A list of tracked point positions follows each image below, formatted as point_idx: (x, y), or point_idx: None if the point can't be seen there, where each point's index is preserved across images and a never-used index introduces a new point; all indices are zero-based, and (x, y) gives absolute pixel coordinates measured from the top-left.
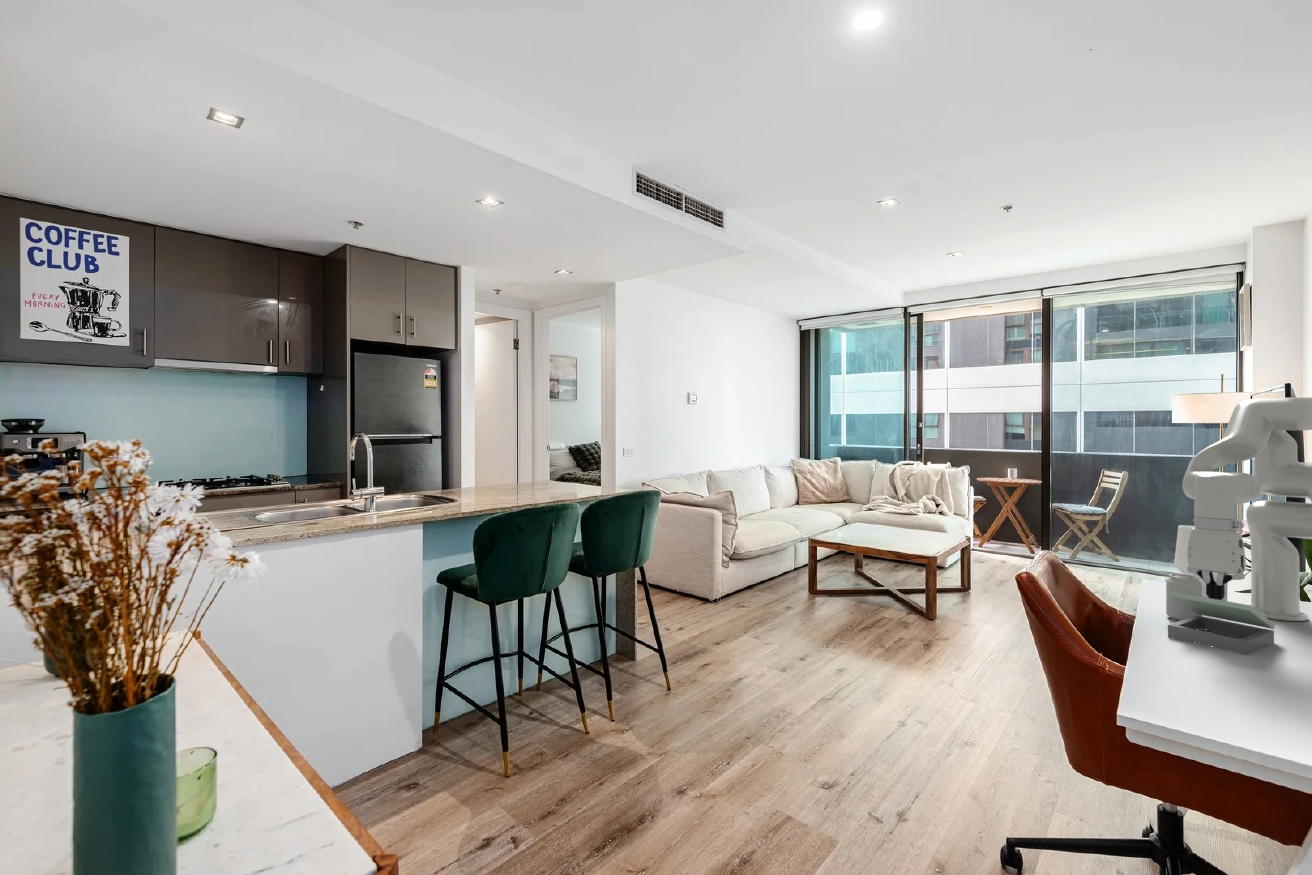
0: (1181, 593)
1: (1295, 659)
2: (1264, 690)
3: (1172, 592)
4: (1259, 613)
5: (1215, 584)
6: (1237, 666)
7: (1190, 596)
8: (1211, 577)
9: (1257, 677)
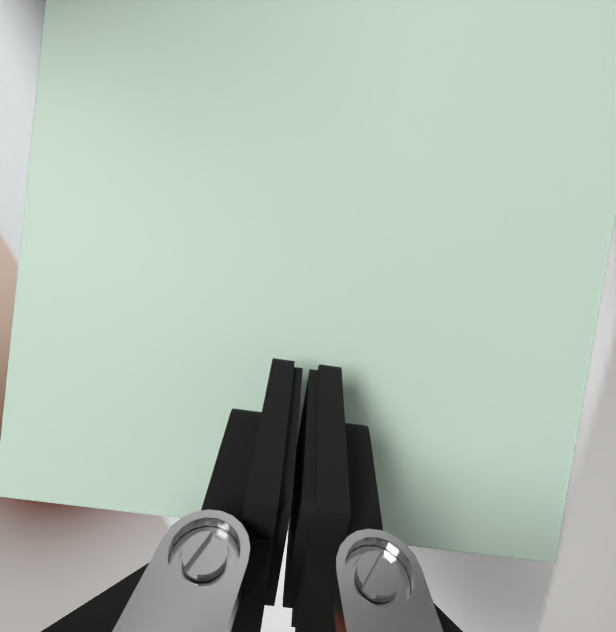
0: (76, 504)
1: (602, 302)
2: (475, 621)
3: (9, 491)
4: (586, 349)
5: (299, 602)
6: None
7: (151, 506)
8: (208, 628)
9: (463, 560)
